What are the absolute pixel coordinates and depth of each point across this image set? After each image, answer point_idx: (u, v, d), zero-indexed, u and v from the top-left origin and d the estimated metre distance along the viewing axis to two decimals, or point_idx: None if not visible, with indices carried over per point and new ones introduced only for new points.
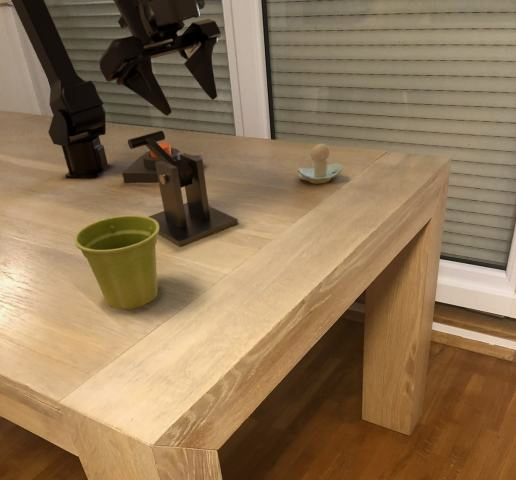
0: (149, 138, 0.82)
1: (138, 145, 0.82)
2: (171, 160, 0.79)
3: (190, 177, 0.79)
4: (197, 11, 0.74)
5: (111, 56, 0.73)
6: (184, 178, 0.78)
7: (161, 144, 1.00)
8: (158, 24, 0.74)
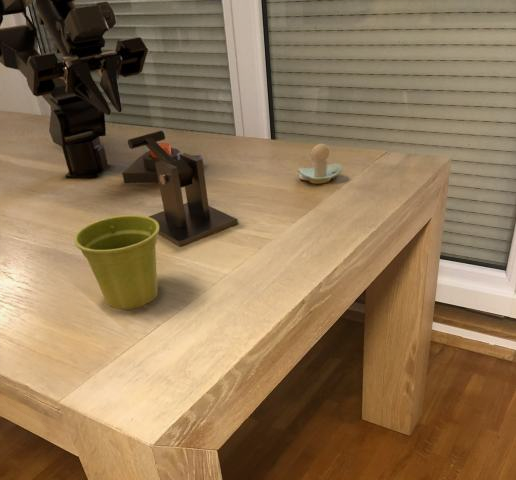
0: (149, 138, 0.82)
1: (138, 145, 0.82)
2: (171, 160, 0.79)
3: (190, 177, 0.79)
4: (103, 23, 0.81)
5: (29, 71, 0.82)
6: (184, 178, 0.78)
7: (161, 144, 1.00)
8: (72, 40, 0.83)
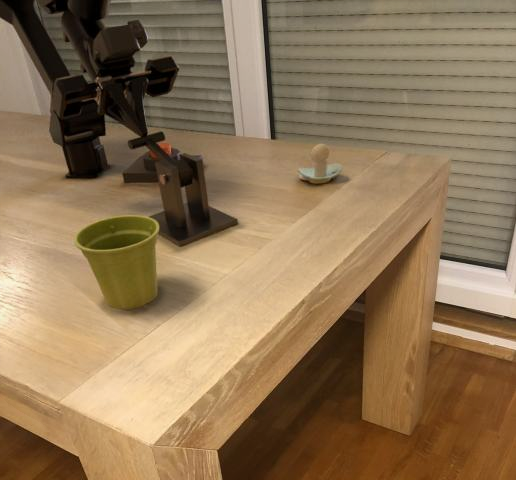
0: (149, 139, 0.82)
1: (138, 146, 0.82)
2: (171, 160, 0.80)
3: (190, 177, 0.78)
4: (135, 44, 0.77)
5: (56, 94, 0.78)
6: (184, 178, 0.78)
7: (161, 144, 1.00)
8: (101, 61, 0.78)
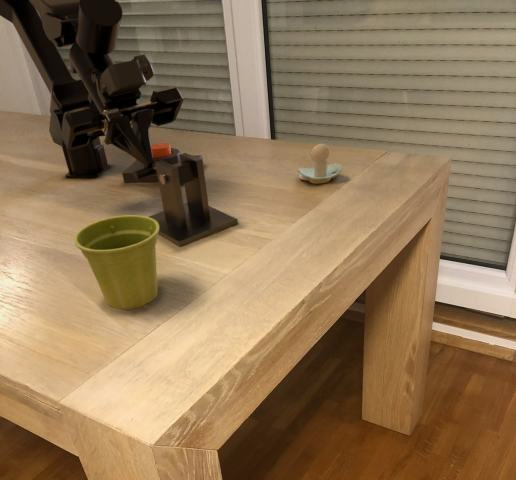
0: (152, 167, 0.85)
1: (143, 174, 0.84)
2: None
3: (189, 172, 0.78)
4: (141, 78, 0.79)
5: (65, 126, 0.80)
6: (183, 173, 0.77)
7: (161, 144, 1.00)
8: (109, 94, 0.81)
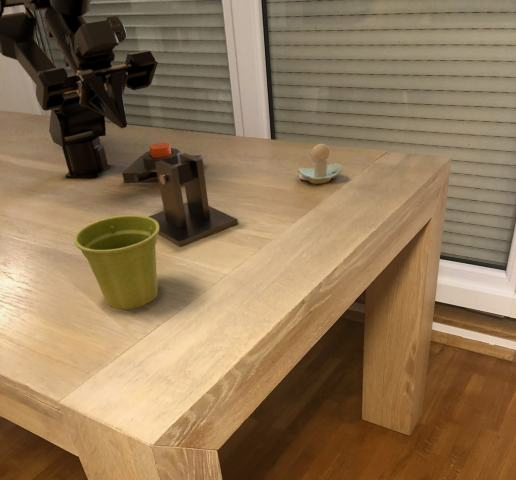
0: (153, 170, 0.85)
1: (144, 177, 0.85)
2: None
3: (189, 171, 0.78)
4: (114, 38, 0.81)
5: (39, 86, 0.82)
6: (183, 172, 0.77)
7: (161, 144, 1.00)
8: (82, 54, 0.82)
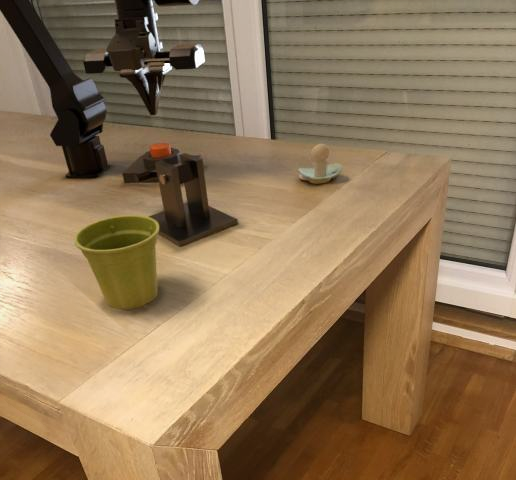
0: (153, 170, 0.85)
1: (144, 177, 0.85)
2: None
3: (189, 171, 0.78)
4: (135, 66, 0.84)
5: None
6: (183, 172, 0.77)
7: (161, 144, 1.00)
8: None
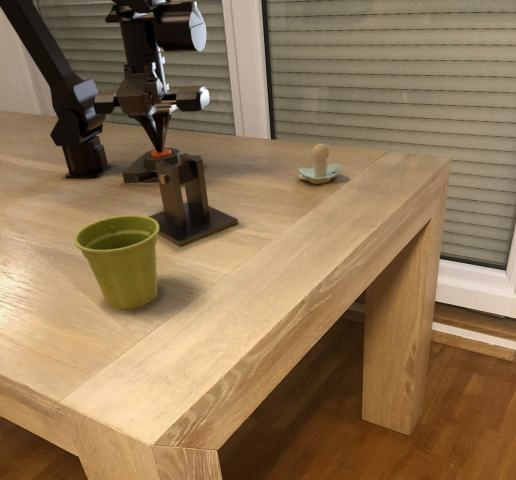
0: (153, 170, 0.85)
1: (144, 177, 0.85)
2: None
3: (189, 171, 0.78)
4: (143, 110, 0.88)
5: None
6: (183, 172, 0.77)
7: None
8: None
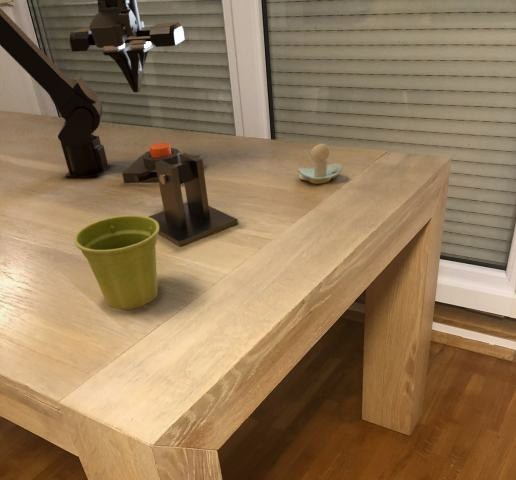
0: (153, 170, 0.85)
1: (144, 177, 0.85)
2: None
3: (189, 171, 0.78)
4: (116, 43, 0.89)
5: None
6: (183, 172, 0.77)
7: (161, 144, 1.00)
8: None
